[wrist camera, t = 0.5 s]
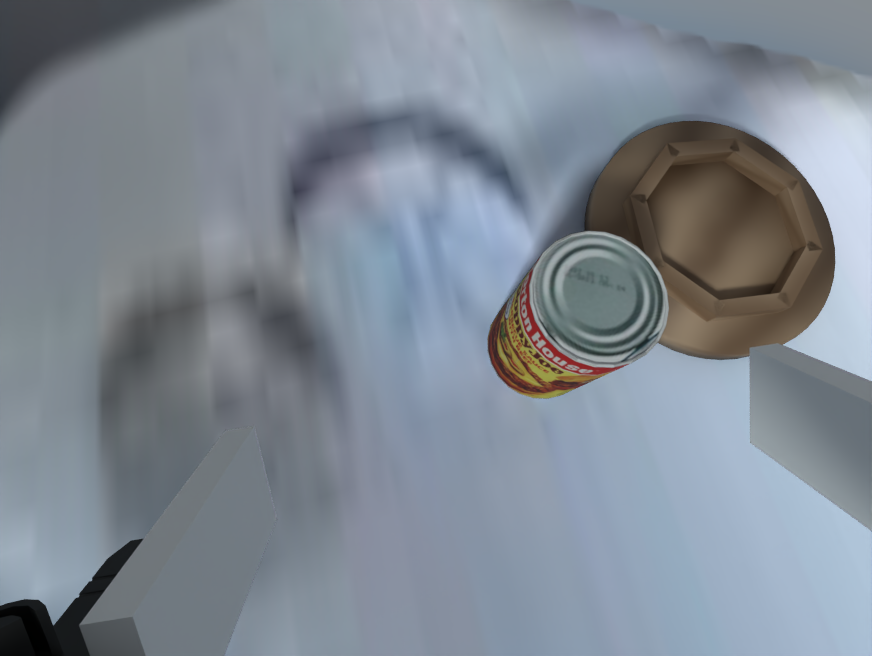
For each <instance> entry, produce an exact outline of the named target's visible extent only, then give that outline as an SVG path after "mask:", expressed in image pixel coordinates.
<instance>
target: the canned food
mask: <svg viewBox="0 0 872 656" xmlns="http://www.w3.org/2000/svg"><path fill="white" fill-rule="evenodd" d="M668 312H669V305H668V295H667V290H666V287H665V284H664V281H663V279H662V276H661V274H660V272H659V271H658V269H657V268H656V266H655V265H654V263H653V262H652V260H651V259H650V258H649V257H648V256H647V255H646V254H645V253H644V252H643V251H642V250H641V249H640V248H639V247H637V246H636V245H634V244H632V243H631V242H629V241H627V240H626V239H624V238H622V237H619V236H616V235H613V234H610V233H607V232H598V231H583V232H578V233H573V234H569V235H567V236H565V237H563V238H561V239H559V240H557V241H555V242H554V243H553V244H552V245H551V246H550V247H549V248H548V249H547V250H545V251H544V252H543V253H542V255H541V256H540V257H539V259H538V260H537V261H536V263H535V264H534V266H533V267H532V268H531V270H530V271H529V272H528V274H527V275H526V276H525V278H524V279H523V280H522V282H521V283H520V284H519V286H518V287H517V289H516V290H515V291H514V293H513V294H512V295H511V297H510V298H509V299H508V301H507V302H506V303H505V305H504V306H503V307H502V309H501V310H500V312H499V313H498V314H497V316H496V318H495V319H494V321H493V323H492V324H491V327H490V330H489V334H488V338H487V345H488V355H489V358H490V362H491V365H492V367H493V369H494V370H495V372H496V374H497V376H498V377H499V378H500V379H501V380H502V381H503V382H504V383H505V384H506V385H507V386H508V387H509V388H511V389H512V390H514V391H516V392H517V393H519V394H521V395H524V396H527V397H531V398H539V399H548V398H552V397H556V396H560V395H563V394H565V393H567V392H569V391H571V390H573V389H576V388H578V387H580V386H582V385H584V384H587V383H589V382H591V381H593V380H595V379H598V378H600V377H602V376H604V375H606V374H608V373H611V372H613V371H615V370H617V369H619V368H622V367H624V366H626V365H628V364H630V363H632V362H634V361H636V360H637V359H639V358H641V357H643V356H644V355H646V354H647V353H648V352H649V351H650V350H651V349H652V348H653V347H654V346H655V345H656V344H657V343H658V342H659V339H660V337H661V335H662V333H663V331H664V329H665V327H666V323H667V317H668Z"/></svg>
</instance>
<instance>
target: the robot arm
mask: <svg viewBox="0 0 872 656" xmlns="http://www.w3.org/2000/svg"><path fill="white" fill-rule="evenodd" d="M750 443H751V444H753V445H754V446H755V447H757V448H758V449H759V450H761V451H762V452H764V453H765V454H766V455H768V456H769V457H770V458H772V459H773V460H775V461H776V462H777V463H779V464H780V465H781V466H783V467H784V468H785V469H787V470H788V471H790V472H791V473H792V474H794V475H795V476H796V477H798V478H799V479H801V480H802V481H803V482H805V483H806V484H807V485H809V486H810V487H812V488H813V489H814V490H816V491H817V492H818V493H820V494H821V495H823V496H824V497H825V498H827V499H828V500H829V501H831V502H832V503H834V504H835V505H836V506H838V507H839V508H840V509H842V510H843V511H845V512H846V513H847V514H849V515H850V516H851V517H853V518H854V519H856V520H857V521H858V522H860V523H861V524H862V525H864V526H865V527H867V528H868V529H869V530H871V531H872V381H869V380H867V379H864V378H862V377H860V376H857V375H855V374H852V373H850V372H847V371H845V370H842V369H840V368H837V367H835V366H833V365H830V364H828V363H825V362H823V361H820V360H818V359H815V358H813V357H810V356H808V355H806V354H803V353H801V352H798V351H796V350H793V349H791V348H788V347H786V346H783V345H781V344H778V343H776V344H770V345H764V346H757V347H751V348H750ZM276 521H277V516H276V512H275V508H274V504H273V499H272V495H271V491H270V487H269V483H268V479H267V475H266V471H265V467H264V463H263V459H262V455H261V451H260V446H259V442H258V438H257V434H256V430H255V426H249V427H243V428H237V429H230V430H225V431H224V432H223V434H222V435H221V436H220V438H219V439H218V440H217V442H216V443H215V444H214V446H213V447H212V448H211V450H210V451H209V452H208V454H207V455H206V456H205V458H204V459H203V460H202V462H201V463H200V464H199V466H198V467H197V468H196V470H195V471H194V472H193V474H192V475H191V476H190V478H189V479H188V480H187V482H186V483H185V484H184V486H183V487H182V488H181V490H180V491H179V492H178V494H177V495H176V496H175V498H174V499H173V500H172V502H171V503H170V504H169V506H168V507H167V508H166V510H165V511H164V512H163V514H162V515H161V516H160V518H159V519H158V520H157V522H156V523H155V524H154V526H153V527H152V528H151V530H150V531H149V532H148V534H147V535H146V536H145V538H144V539H139V540H132V541H130V542H129V543H127V544H126V545H125V546H124V547H122V548H121V549H120V550H118V551H117V552H116V553H114V554H113V555H112V556H111V557H109V558H108V559H107V560H106V561H105V563H104V564H103V565H102V566H101V568H100V569H99V570H98V571H97V573H96V574H95V575H94V576H93V578H92V581H90V582H88V584H87V585H86V586H85V587H84V589H83V590H82V591H81V592H80V594H79V595H80V596H79V598H76V599H75V600H74V601H73V602H72V604H71V605H70V606H69V607H68V609H67V610H66V611H65V612H64V613H63V615H62V616H61V617H60V618H59V620H58V621H57V622H56V623H55V625H54V626H53V624H52V622H51V619H50V616H49V614H48V611H47V608H46V606H45V605H44V604H43V603H42V602H40V601H39V600H28V599H24V600H20V601H16V602H11V603H7V604H4V605H2V606H0V656H224V655H225V652H226V650H227V647H228V644H229V642H230V639H231V637H232V634H233V632H234V629H235V626H236V624H237V621H238V619H239V616H240V613H241V611H242V608H243V606H244V603H245V601H246V598H247V595H248V593H249V590H250V588H251V585H252V583H253V580H254V577H255V575H256V572H257V570H258V567H259V564H260V562H261V559H262V557H263V554H264V552H265V549H266V546H267V544H268V541H269V539H270V536H271V533H272V531H273V528H274V526H275V523H276Z"/></svg>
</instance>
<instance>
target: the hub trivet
mask: <svg viewBox="0 0 872 656" xmlns="http://www.w3.org/2000/svg"><path fill="white" fill-rule="evenodd" d="M585 231H598V232H607V233H610V234H613V235H616V236H619V237H622V238H624V239H626V240H627V241H629V242H631V243H632V244H634V245H636V246H637V247H639V248H640V249H641V250H642V251H643V252H644V253H645V254H646V255H647V256H648V257H649V258H650V259H651V260H652V262H653V263H654V265H655V266H656V268H657V269H658V271H659V272H660V274H661V276H662V279H663V281H664V284H665V287H666V290H667V295H668V305H669V312H668V317H667V323H666V327H665V329H664V331H663V333H662V335H661V337H660V339H659V342H658V343H659V344H661V345H663V346H666V347H668V348H670V349H672V350H674V351H677V352H680V353H683V354H686V355H689V356H694V357H699V358H704V359H717V360H725V359H738V358H742V357H747V356H750V348H751V347H757V346H764V345H770V344H776V343H778V344H781V345H783V344H785V343H786V342H788V341H790V340H792V339H793V338H795V337H797V336H798V335H799V334H800V333H802V332H803V331H804V330H805V329H807V328H808V326H809V325H810V324H811V323H812V322H813V321H814V320H815V319H816V318H817V316H818V314H819V313H820V311H821V310H822V308H823V307H824V305H825V303H826V300H827V298H828V296H829V293H830V290H831V286H832V283H833V279H834V270H835V247H834V241H833V235H832V231H831V228H830V224H829V221H828V218H827V216H826V213H825V211H824V209H823V206H822V204H821V202H820V201H819V199H818V197H817V195H816V193H815V192H814V190H813V189H812V187H811V186H810V185H809V183H808V182H807V180H806V179H805V178H804V177H803V175H802V174H801V173H800V172H799V171H798V170H797V169H796V168H795V166H794V165H792V164H791V163H790V162H789V161H788V160H787V159H786V158H785V157H784V156H783V155H781V154H780V153H779V152H777V151H776V150H775V149H773V148H772V147H771V146H769V145H768V144H766V143H764V142H763V141H761V140H759V139H758V138H756V137H754V136H752V135H749V134H747V133H745V132H743V131H740V130H738V129H735V128H732V127H729V126H725V125H721V124H716V123H711V122H702V121H681V122H673V123H668V124H664V125H660V126H657V127H654V128H652V129H649V130H647V131H645V132H642V133H641V134H639V135H637V136H636V137H634V138H633V139H631V140H630V141H629V142H627V143H626V144H625V145H624V146H623V147H622V148H621V149H620V150H619V151H618V152H617V153H616V154H615V155H614V157H613V158H612V159H611V160H610V162H609V163H608V164H607V166H606V167H605V168H604V170H603V171H602V173H601V174H600V176H599V177H598V179H597V181H596V182H595V184H594V187H593V189H592V191H591V193H590V196H589V200H588V204H587V207H586V215H585Z"/></svg>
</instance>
